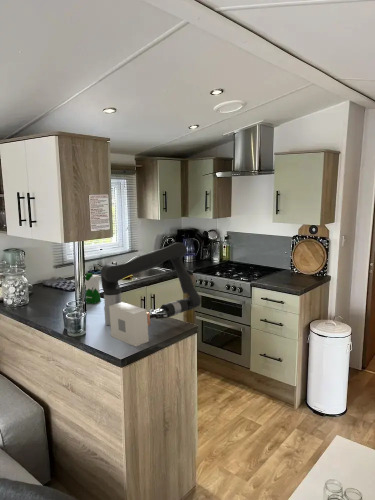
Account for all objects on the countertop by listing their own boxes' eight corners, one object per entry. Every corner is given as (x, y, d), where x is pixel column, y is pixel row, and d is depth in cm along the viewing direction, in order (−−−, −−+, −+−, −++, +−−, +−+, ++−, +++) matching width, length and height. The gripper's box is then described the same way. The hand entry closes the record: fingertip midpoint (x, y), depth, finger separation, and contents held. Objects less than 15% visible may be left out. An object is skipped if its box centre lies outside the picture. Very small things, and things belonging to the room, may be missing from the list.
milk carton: (83, 303, 253) (81, 273, 250) (92, 299, 261) (90, 271, 258) (94, 304, 249) (92, 274, 246) (103, 300, 257) (100, 271, 254)
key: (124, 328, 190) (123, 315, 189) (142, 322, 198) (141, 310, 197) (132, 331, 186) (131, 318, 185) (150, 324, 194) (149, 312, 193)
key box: (111, 336, 193) (109, 305, 191) (124, 331, 199) (122, 302, 196) (135, 346, 179) (133, 313, 177) (148, 341, 185) (146, 309, 182)
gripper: (162, 300, 212) (137, 307, 200) (179, 304, 202) (153, 313, 190) (163, 313, 213) (138, 321, 201) (179, 318, 203) (154, 327, 191)
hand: (146, 317), depth 195 cm, fingers closed
